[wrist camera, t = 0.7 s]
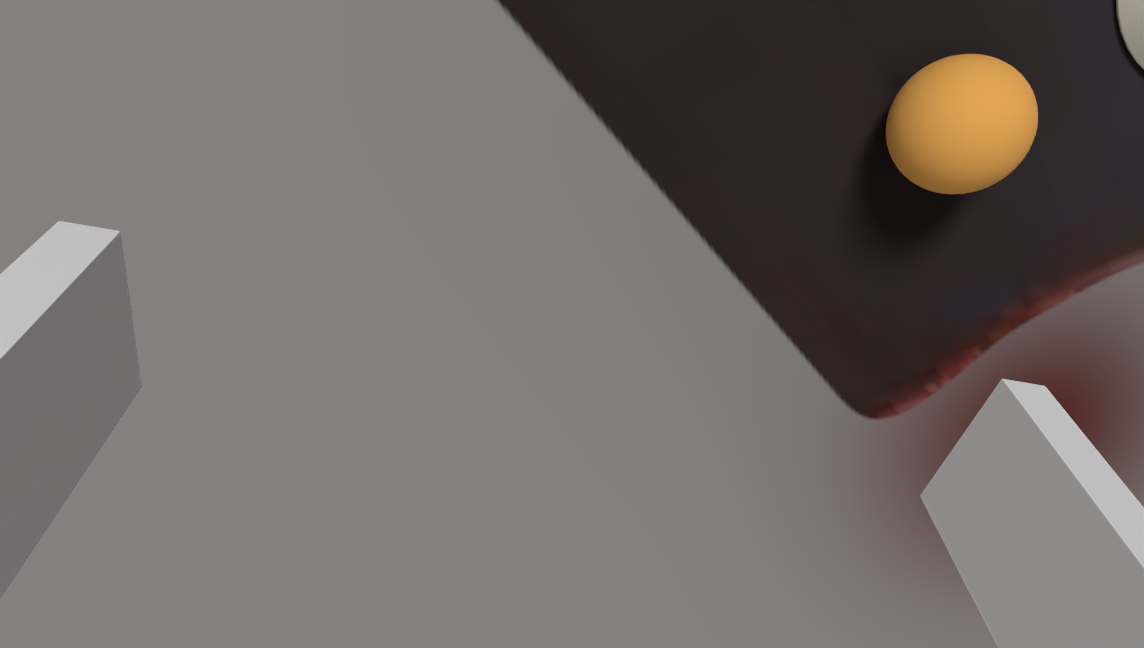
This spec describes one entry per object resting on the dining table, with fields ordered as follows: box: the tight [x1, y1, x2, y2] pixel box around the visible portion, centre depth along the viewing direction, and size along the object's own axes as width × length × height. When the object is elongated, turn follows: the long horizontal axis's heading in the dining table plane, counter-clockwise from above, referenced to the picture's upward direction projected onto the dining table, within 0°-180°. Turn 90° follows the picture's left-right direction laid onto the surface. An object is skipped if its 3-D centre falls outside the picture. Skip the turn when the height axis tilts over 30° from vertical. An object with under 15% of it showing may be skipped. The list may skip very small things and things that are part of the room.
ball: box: [886, 54, 1038, 194], centre depth 31 cm, size 6×6×6 cm
